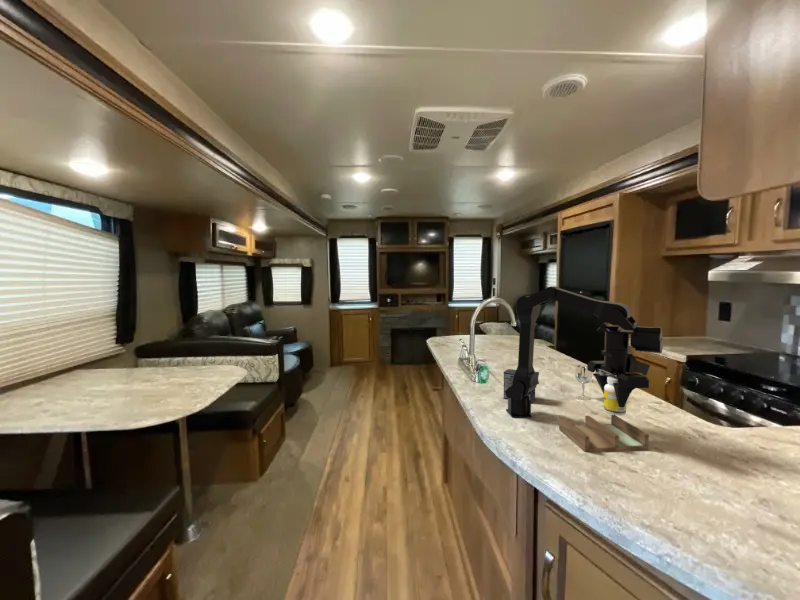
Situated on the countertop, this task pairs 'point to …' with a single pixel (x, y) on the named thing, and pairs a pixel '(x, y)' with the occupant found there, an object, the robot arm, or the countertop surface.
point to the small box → (508, 383)
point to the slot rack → (605, 435)
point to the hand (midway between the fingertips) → (614, 403)
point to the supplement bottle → (612, 398)
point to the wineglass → (583, 378)
